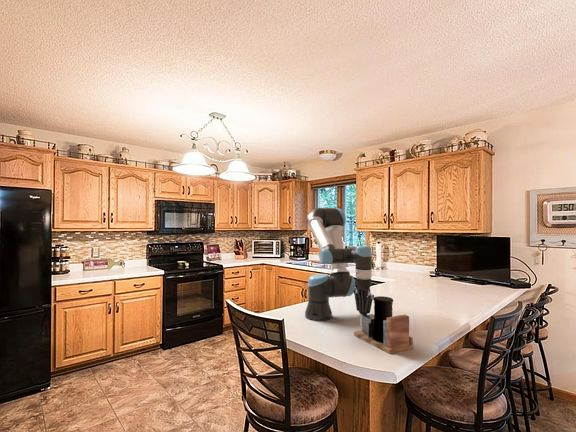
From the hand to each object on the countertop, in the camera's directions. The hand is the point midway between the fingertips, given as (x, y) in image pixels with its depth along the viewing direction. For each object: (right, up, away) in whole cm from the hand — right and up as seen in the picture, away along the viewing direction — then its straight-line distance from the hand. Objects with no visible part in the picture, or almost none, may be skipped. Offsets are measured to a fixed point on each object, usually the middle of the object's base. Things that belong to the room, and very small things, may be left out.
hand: (363, 326), depth 149 cm
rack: (+6, -2, -11) cm, 13 cm away
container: (+6, -1, -13) cm, 14 cm away
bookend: (+3, -1, -6) cm, 6 cm away
